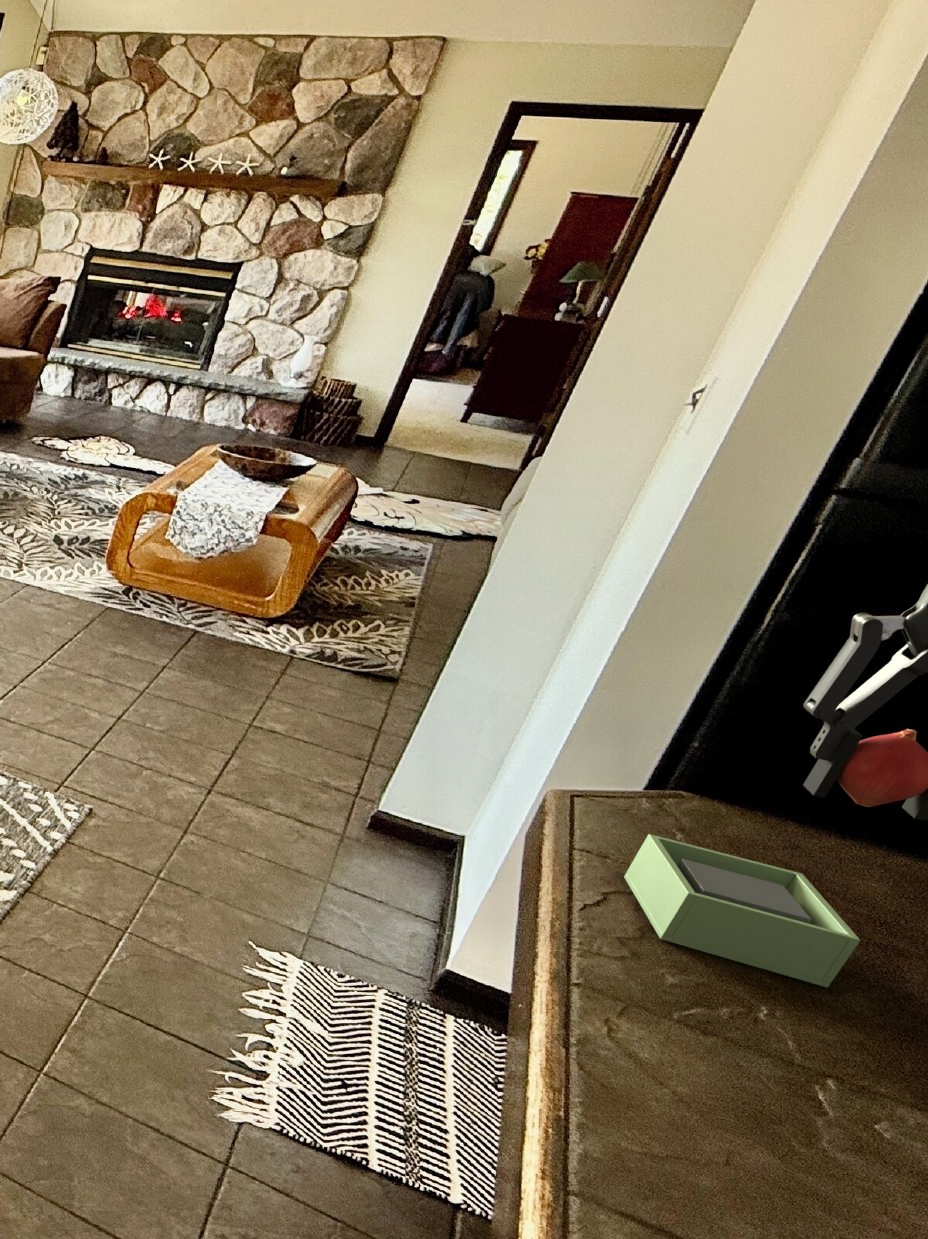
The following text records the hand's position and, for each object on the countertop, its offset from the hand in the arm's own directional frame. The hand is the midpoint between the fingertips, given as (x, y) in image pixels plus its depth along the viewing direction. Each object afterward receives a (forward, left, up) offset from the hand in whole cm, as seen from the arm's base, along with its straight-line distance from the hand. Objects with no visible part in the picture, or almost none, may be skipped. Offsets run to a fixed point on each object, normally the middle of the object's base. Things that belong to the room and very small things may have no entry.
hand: (863, 802), depth 108 cm
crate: (+9, +13, -11) cm, 19 cm away
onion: (0, 0, -1) cm, 1 cm away
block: (+9, +13, -11) cm, 19 cm away
